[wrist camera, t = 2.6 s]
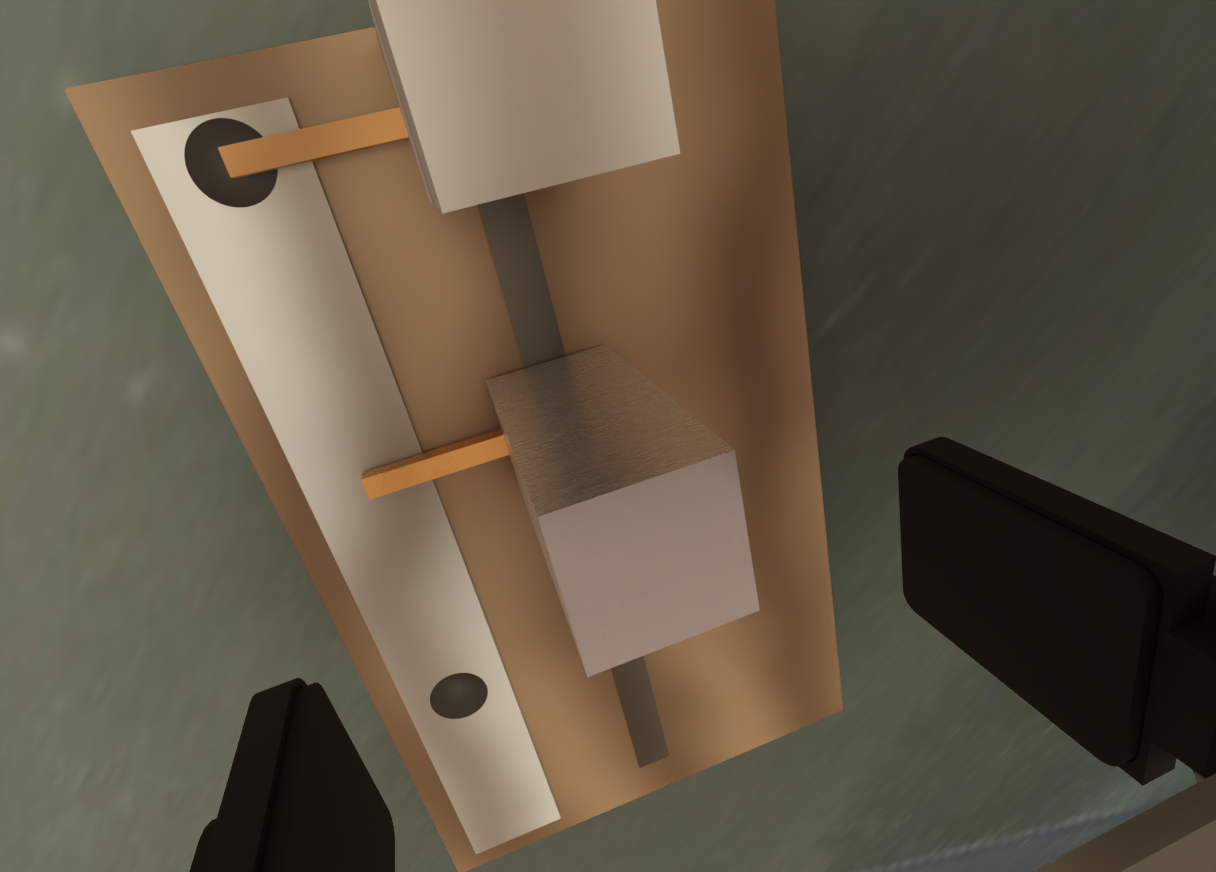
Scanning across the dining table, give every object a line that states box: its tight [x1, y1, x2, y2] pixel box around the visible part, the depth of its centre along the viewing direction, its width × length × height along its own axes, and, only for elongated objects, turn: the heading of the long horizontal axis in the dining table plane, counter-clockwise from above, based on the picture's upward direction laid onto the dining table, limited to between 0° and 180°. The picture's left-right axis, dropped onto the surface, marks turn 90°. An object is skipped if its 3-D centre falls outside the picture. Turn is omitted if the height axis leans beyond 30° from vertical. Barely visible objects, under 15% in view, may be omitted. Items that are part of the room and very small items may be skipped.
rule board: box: [64, 0, 843, 872], centre depth 17 cm, size 16×26×10 cm, turn 13°
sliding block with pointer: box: [361, 345, 760, 677], centre depth 14 cm, size 7×3×8 cm, turn 103°
